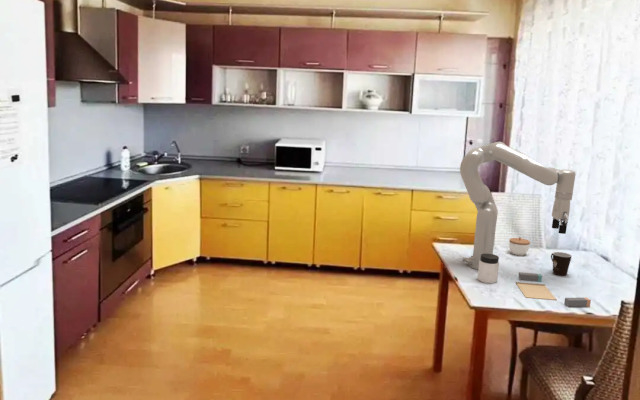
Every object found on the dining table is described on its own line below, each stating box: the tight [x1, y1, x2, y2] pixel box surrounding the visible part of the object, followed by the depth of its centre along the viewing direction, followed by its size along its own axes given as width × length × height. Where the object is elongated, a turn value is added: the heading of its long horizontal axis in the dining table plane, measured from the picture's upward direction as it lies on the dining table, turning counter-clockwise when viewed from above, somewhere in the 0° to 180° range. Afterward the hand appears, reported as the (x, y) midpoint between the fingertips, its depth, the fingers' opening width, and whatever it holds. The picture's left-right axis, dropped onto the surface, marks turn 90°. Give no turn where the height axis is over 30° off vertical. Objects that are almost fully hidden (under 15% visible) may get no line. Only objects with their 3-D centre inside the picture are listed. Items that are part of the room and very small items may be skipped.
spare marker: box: [563, 297, 592, 308], centre depth 241 cm, size 10×3×3 cm, turn 99°
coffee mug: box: [550, 251, 573, 277], centre depth 284 cm, size 12×9×10 cm
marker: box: [517, 271, 543, 283], centre depth 272 cm, size 10×3×3 cm, turn 84°
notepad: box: [515, 281, 557, 301], centre depth 257 cm, size 13×19×1 cm
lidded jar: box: [508, 237, 531, 257], centre depth 315 cm, size 11×11×9 cm
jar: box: [476, 253, 500, 284], centre depth 267 cm, size 9×8×12 cm
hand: (558, 230), depth 274 cm, fingers open, 9 cm apart
